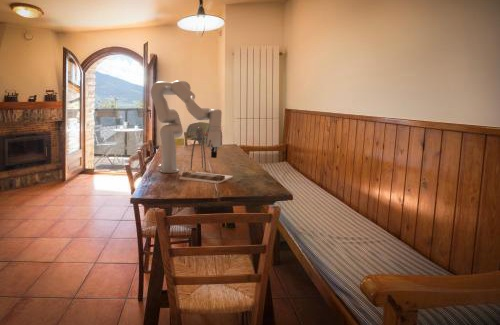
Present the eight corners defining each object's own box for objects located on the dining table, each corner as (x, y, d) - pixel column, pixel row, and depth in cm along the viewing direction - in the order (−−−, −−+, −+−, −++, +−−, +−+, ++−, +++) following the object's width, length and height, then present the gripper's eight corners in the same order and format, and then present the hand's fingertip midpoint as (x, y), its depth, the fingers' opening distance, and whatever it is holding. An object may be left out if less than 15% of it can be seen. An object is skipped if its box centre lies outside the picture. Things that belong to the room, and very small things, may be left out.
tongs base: (182, 176, 230) (182, 172, 229) (185, 175, 233) (185, 171, 232) (219, 181, 219) (219, 176, 219) (222, 180, 222) (222, 175, 221)
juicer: (205, 171, 255) (205, 127, 250) (190, 170, 257) (190, 127, 252) (210, 168, 265) (210, 126, 260) (195, 167, 267) (194, 126, 262)
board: (179, 179, 228) (179, 177, 228) (196, 173, 246) (196, 172, 246) (217, 183, 217) (217, 182, 217) (233, 177, 235) (233, 175, 235)
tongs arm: (191, 176, 231) (191, 173, 231) (194, 175, 234) (194, 172, 233) (222, 179, 222) (222, 176, 222) (224, 178, 225) (224, 175, 224)
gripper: (215, 127, 241) (214, 155, 245) (203, 129, 228) (202, 158, 231) (225, 128, 238) (224, 156, 242) (214, 130, 225) (213, 159, 228)
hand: (213, 157), depth 236 cm, fingers closed
